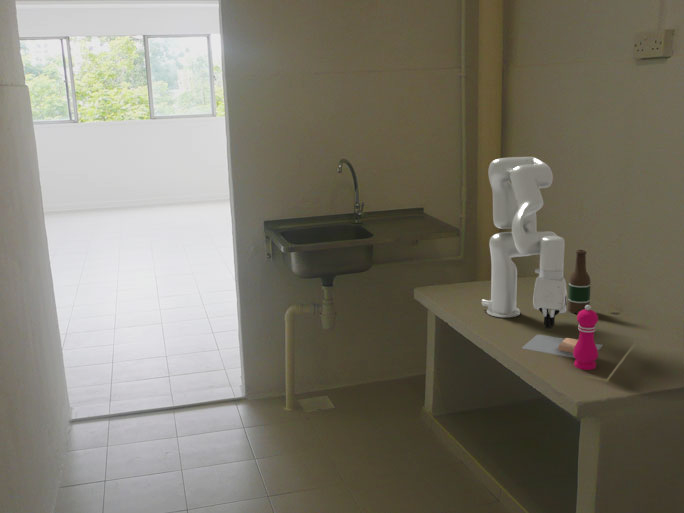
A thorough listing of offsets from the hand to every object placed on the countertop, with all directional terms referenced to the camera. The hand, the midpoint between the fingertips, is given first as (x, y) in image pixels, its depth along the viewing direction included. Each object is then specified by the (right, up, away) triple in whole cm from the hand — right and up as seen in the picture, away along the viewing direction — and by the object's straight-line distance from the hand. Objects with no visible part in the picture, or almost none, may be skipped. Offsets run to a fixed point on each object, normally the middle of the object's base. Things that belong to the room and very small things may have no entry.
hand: (549, 327), depth 229 cm
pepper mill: (+6, -11, -18) cm, 21 cm away
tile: (+4, -5, -2) cm, 7 cm away
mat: (+4, -7, -1) cm, 8 cm away
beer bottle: (+22, +2, +37) cm, 43 cm away
